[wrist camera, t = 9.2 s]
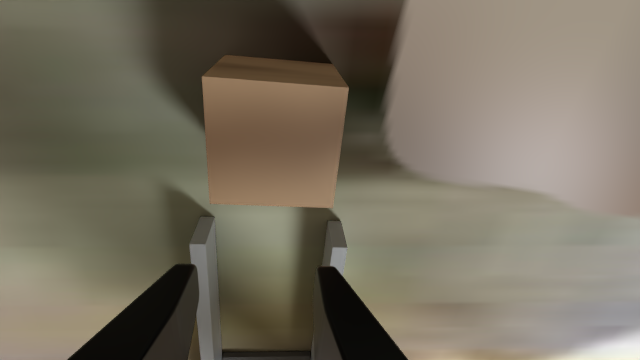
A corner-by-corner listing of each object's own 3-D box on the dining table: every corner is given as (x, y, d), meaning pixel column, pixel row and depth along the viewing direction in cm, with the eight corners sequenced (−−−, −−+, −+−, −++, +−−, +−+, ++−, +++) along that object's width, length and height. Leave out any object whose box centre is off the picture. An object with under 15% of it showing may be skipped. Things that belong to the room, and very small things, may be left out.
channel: (316, 383, 28) (319, 416, 26) (213, 385, 27) (206, 419, 25) (340, 221, 21) (347, 247, 18) (200, 216, 20) (189, 244, 17)
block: (322, 158, 19) (332, 207, 14) (228, 153, 18) (209, 203, 14) (332, 63, 16) (348, 87, 12) (225, 54, 16) (201, 76, 11)
